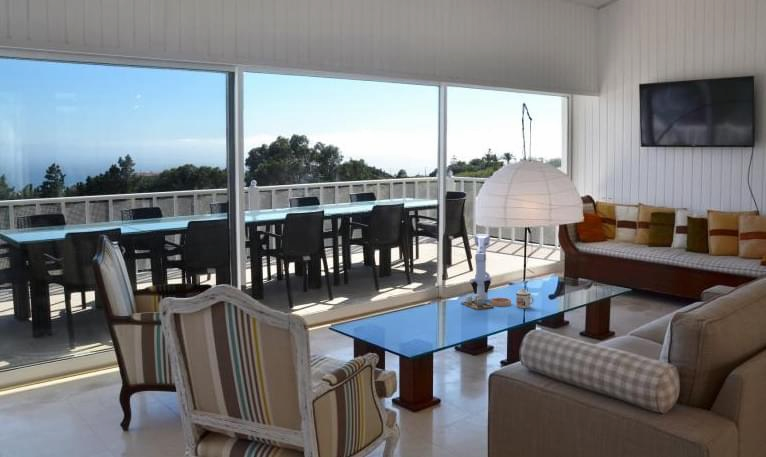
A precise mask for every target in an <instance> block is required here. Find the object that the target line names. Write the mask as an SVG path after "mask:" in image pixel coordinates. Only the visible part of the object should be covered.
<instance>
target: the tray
mask: <svg viewBox="0 0 766 457" xmlns="http://www.w3.org/2000/svg"><path fill="white" fill-rule="evenodd" d="M460 305H463V306H465V307H467V308H470V309H473V310H475V311H480V310H482V311H483V310H488V309H489V310H490V309H495V306H493V305H491V304H490V303H487V302H484V307H480V308H478V307H477V305H476V304H474V300H472V305H468V304H466V301H461V302H460Z"/></svg>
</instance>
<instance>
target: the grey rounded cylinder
mask: <svg viewBox="0 0 766 457" xmlns="http://www.w3.org/2000/svg"><path fill="white" fill-rule="evenodd" d="M484 301H485V300H484V298H477V307H478V308H480V307H484V303H485V302H484Z"/></svg>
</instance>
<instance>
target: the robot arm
mask: <svg viewBox="0 0 766 457" xmlns="http://www.w3.org/2000/svg"><path fill="white" fill-rule="evenodd" d="M490 242H491V235H490V233H475V234H474V245H475V247H476V253H475V256H474V257H475V258H474V259H475V265H476V266H475V270H476V271H475V275H474V278H470V279H469V283H470V285H471V287H472V289H473V294H474V295H480V298H484V301H487V300H489V301H490V298H489V288H490V286H491V283H492V277H490V276H491V275H490V274H489V272H487V270H486V266H487V265H486V263H487V262H486V261H487V251H486V250H487V247H489V246H490Z"/></svg>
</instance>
